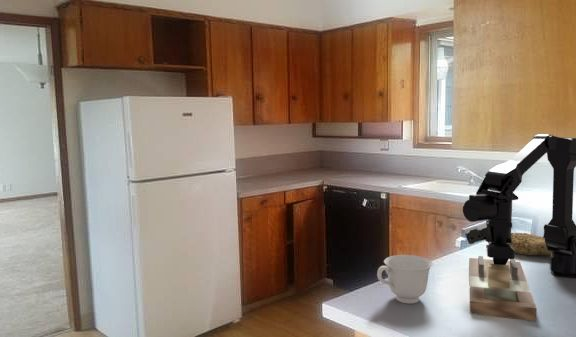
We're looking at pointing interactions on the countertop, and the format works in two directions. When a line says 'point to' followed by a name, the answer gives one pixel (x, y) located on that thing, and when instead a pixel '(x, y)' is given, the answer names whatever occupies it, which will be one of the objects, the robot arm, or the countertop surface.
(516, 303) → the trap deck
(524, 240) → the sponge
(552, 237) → the robot arm
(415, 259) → the teacup
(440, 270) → the countertop surface
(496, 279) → the maple block
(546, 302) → the countertop surface
